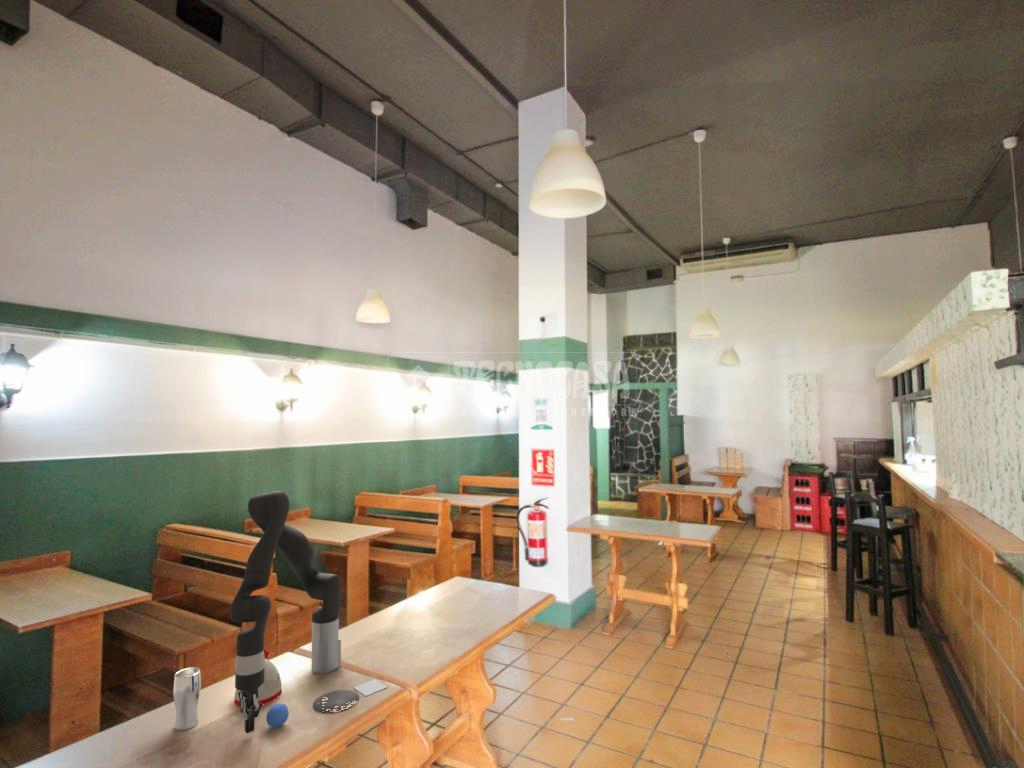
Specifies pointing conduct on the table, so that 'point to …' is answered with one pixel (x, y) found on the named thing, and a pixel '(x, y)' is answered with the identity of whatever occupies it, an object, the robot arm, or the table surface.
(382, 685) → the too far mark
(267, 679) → the kitchen timer
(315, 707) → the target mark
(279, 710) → the ball
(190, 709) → the beer glass
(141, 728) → the table surface
